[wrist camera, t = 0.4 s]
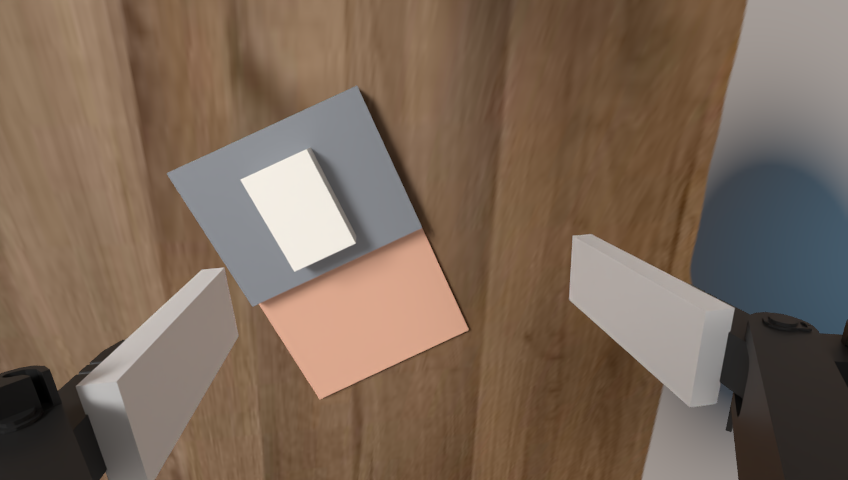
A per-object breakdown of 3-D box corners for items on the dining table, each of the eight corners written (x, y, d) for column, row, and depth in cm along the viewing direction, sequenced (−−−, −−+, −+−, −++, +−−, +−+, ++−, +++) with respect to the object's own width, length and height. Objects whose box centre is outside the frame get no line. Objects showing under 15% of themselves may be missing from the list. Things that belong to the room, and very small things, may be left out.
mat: (258, 299, 41) (257, 301, 41) (420, 224, 41) (421, 225, 41) (320, 396, 45) (319, 399, 45) (467, 327, 45) (469, 330, 45)
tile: (248, 175, 36) (240, 179, 34) (310, 147, 36) (306, 149, 34) (298, 262, 39) (294, 271, 36) (356, 236, 39) (355, 243, 36)
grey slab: (176, 170, 37) (166, 173, 35) (357, 87, 37) (356, 85, 35) (257, 298, 41) (252, 306, 39) (419, 223, 41) (422, 227, 39)
